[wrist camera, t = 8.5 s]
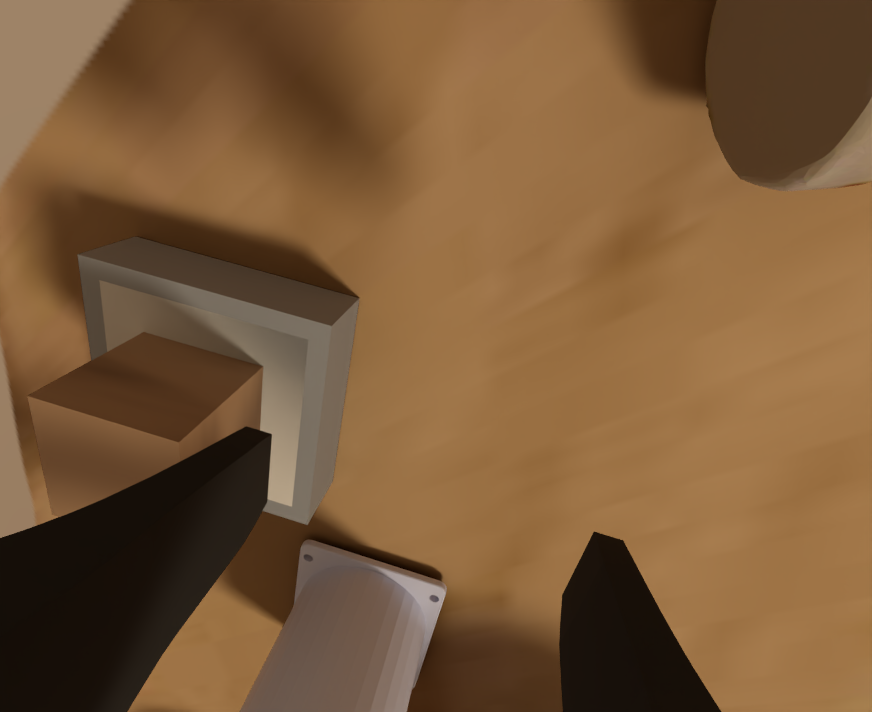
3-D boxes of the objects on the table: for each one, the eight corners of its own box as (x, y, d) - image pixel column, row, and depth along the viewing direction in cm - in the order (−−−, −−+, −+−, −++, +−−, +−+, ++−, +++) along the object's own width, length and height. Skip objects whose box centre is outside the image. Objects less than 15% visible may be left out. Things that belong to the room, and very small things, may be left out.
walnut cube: (258, 466, 22) (184, 557, 17) (151, 433, 22) (52, 514, 18) (263, 366, 19) (178, 442, 15) (143, 331, 20) (27, 395, 15)
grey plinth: (332, 481, 25) (307, 525, 23) (149, 425, 26) (104, 460, 23) (359, 298, 21) (331, 326, 18) (135, 236, 21) (77, 254, 19)
